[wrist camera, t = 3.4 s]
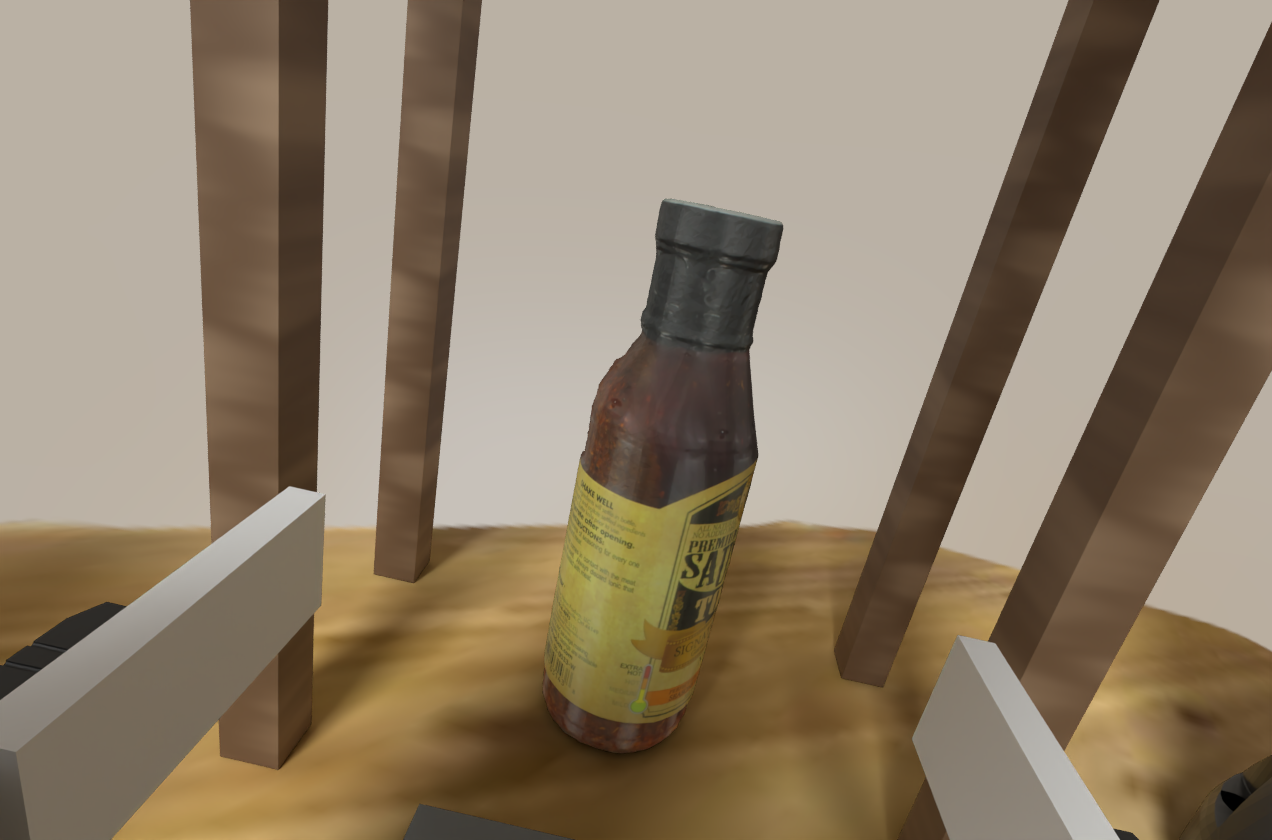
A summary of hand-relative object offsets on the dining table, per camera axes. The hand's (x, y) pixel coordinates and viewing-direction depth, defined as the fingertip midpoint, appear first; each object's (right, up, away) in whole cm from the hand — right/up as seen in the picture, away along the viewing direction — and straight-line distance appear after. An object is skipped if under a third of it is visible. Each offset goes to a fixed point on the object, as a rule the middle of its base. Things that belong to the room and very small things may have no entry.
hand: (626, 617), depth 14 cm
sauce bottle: (-1, -8, +14) cm, 16 cm away
